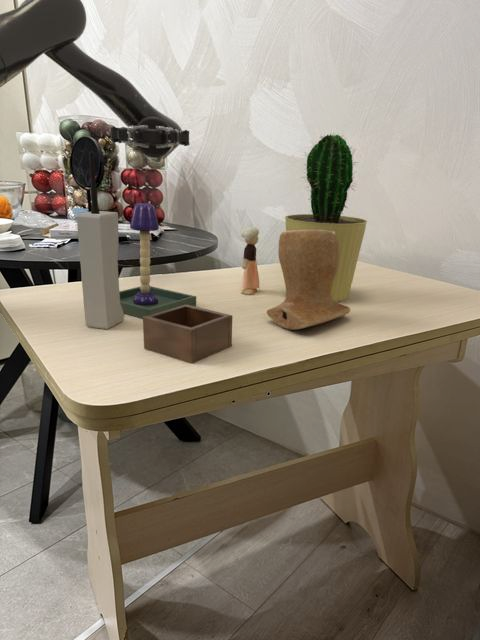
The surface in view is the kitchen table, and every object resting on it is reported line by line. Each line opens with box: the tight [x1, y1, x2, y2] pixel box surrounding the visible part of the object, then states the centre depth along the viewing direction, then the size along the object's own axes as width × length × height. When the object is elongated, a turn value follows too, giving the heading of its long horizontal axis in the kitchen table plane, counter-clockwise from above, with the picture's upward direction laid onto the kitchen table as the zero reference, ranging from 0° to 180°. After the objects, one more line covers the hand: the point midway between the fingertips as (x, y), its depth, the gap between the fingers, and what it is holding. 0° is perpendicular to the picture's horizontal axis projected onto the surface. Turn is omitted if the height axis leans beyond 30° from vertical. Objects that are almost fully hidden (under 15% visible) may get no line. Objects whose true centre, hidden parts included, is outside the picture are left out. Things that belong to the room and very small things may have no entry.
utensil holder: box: [76, 151, 125, 330], centre depth 76 cm, size 4×5×25 cm
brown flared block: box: [266, 230, 352, 331], centre depth 84 cm, size 15×12×15 cm
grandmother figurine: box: [240, 226, 260, 296], centre depth 101 cm, size 8×4×13 cm, turn 179°
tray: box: [119, 285, 197, 319], centre depth 90 cm, size 12×11×2 cm
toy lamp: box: [129, 202, 160, 305], centre depth 88 cm, size 5×5×17 cm
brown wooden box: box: [142, 304, 233, 364], centre depth 72 cm, size 9×9×4 cm
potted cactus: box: [284, 132, 368, 303], centre depth 98 cm, size 15×15×30 cm
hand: (147, 135), depth 91 cm, fingers open, 8 cm apart
